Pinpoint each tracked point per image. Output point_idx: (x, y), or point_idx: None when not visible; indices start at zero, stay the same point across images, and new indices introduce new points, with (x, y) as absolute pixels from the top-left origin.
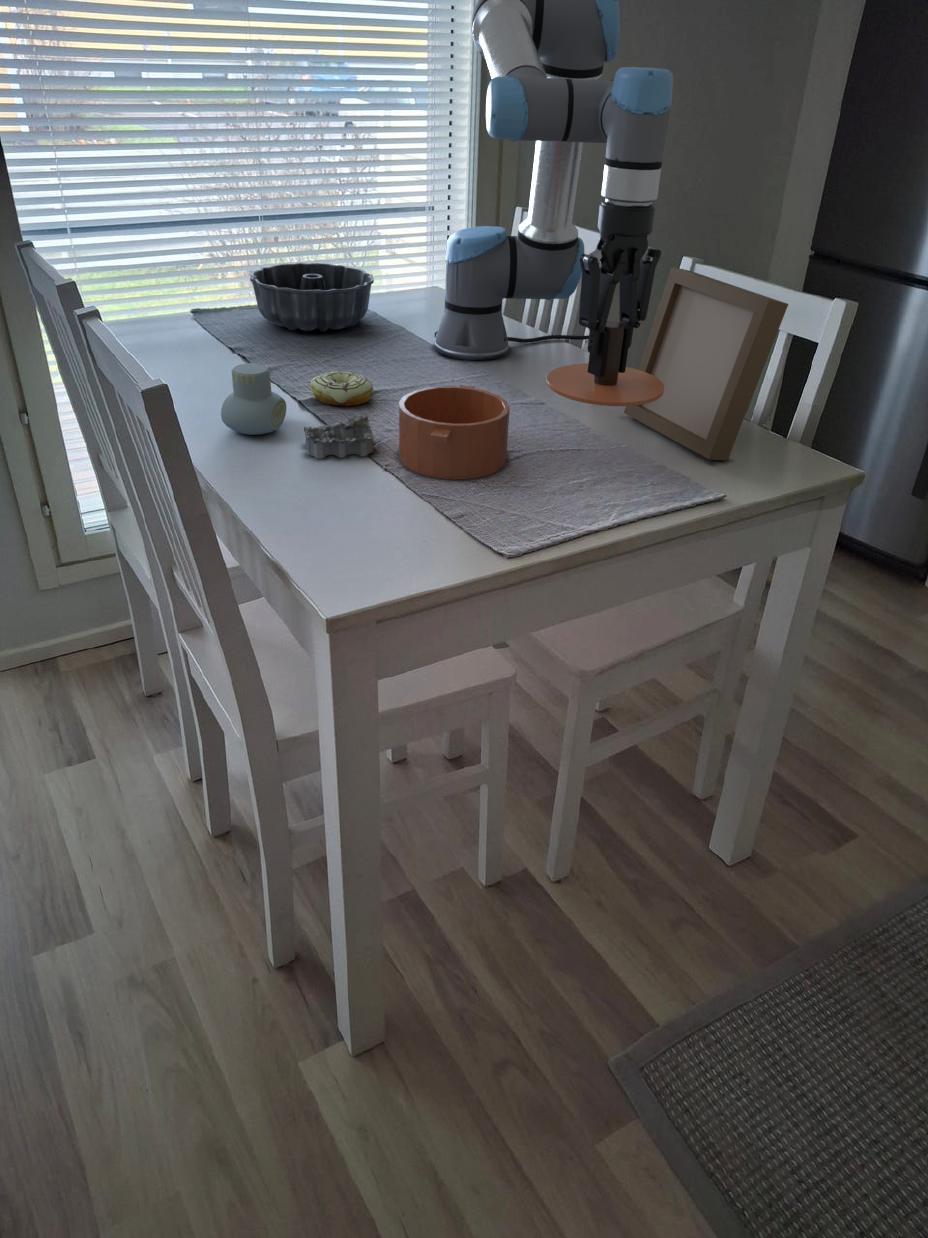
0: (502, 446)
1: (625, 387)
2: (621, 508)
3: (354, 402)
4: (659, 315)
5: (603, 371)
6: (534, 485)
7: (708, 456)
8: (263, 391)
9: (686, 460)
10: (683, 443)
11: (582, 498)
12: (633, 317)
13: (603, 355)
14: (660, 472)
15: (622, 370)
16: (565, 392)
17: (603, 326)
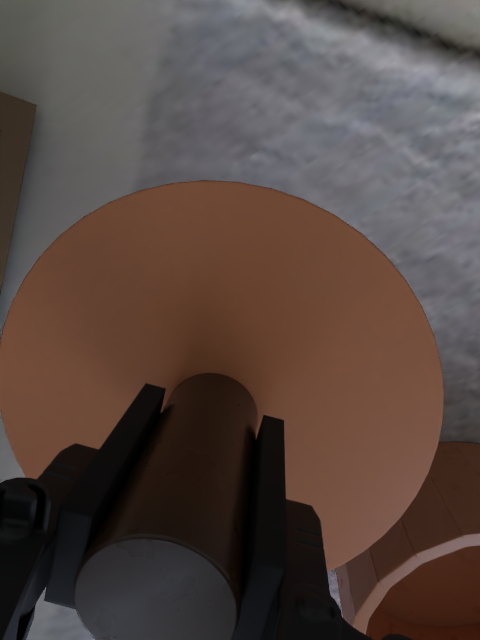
0: (445, 474)
1: (207, 328)
2: (430, 123)
3: None
4: None
5: (264, 426)
6: (455, 344)
7: (31, 106)
8: None
9: (63, 165)
10: (13, 206)
11: (443, 226)
12: (4, 561)
13: (278, 471)
14: (175, 173)
15: (158, 391)
16: (428, 451)
17: (305, 614)
